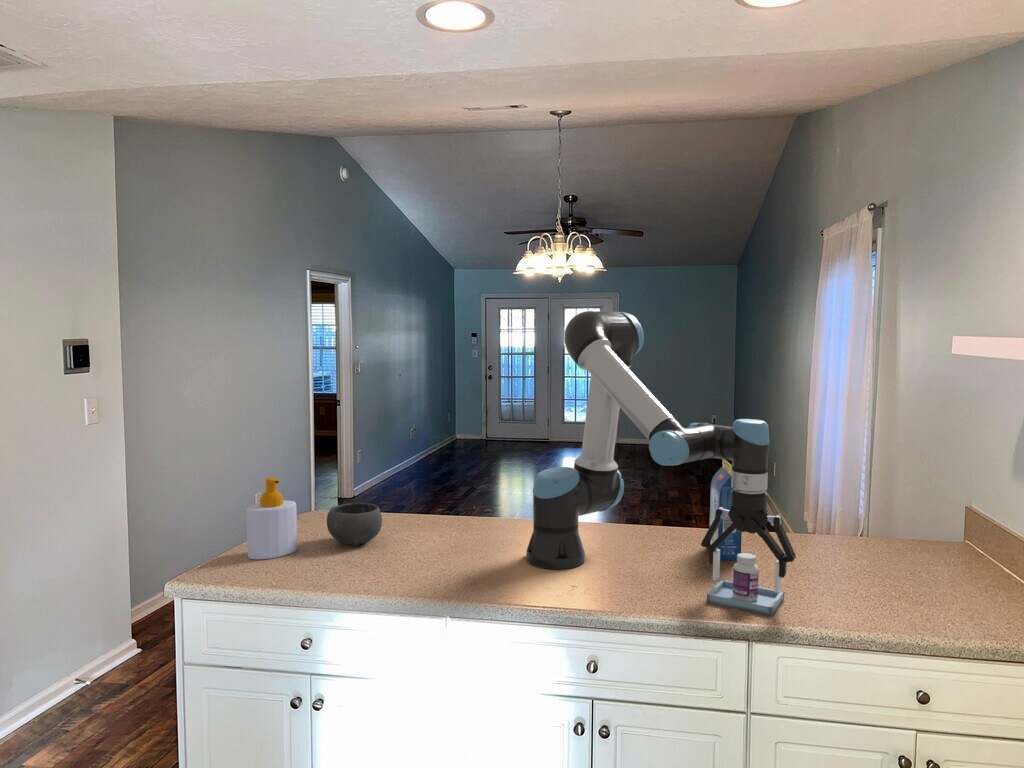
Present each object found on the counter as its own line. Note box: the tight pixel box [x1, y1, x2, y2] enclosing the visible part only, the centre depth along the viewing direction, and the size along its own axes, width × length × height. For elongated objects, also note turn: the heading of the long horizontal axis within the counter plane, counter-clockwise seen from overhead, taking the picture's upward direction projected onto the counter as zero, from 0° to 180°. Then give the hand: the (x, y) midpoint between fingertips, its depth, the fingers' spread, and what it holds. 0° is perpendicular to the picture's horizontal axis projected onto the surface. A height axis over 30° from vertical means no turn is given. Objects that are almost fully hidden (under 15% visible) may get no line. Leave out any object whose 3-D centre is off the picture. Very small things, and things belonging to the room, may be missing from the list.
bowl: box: [326, 502, 383, 546], centre depth 204 cm, size 15×15×10 cm
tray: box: [706, 579, 785, 617], centre depth 163 cm, size 14×11×2 cm
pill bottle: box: [732, 552, 760, 602], centre depth 162 cm, size 5×5×10 cm
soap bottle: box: [246, 476, 298, 561], centre depth 193 cm, size 13×8×20 cm, turn 131°
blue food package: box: [709, 459, 743, 561], centre depth 195 cm, size 6×12×25 cm, turn 175°
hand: (746, 584), depth 163 cm, fingers open, 13 cm apart
